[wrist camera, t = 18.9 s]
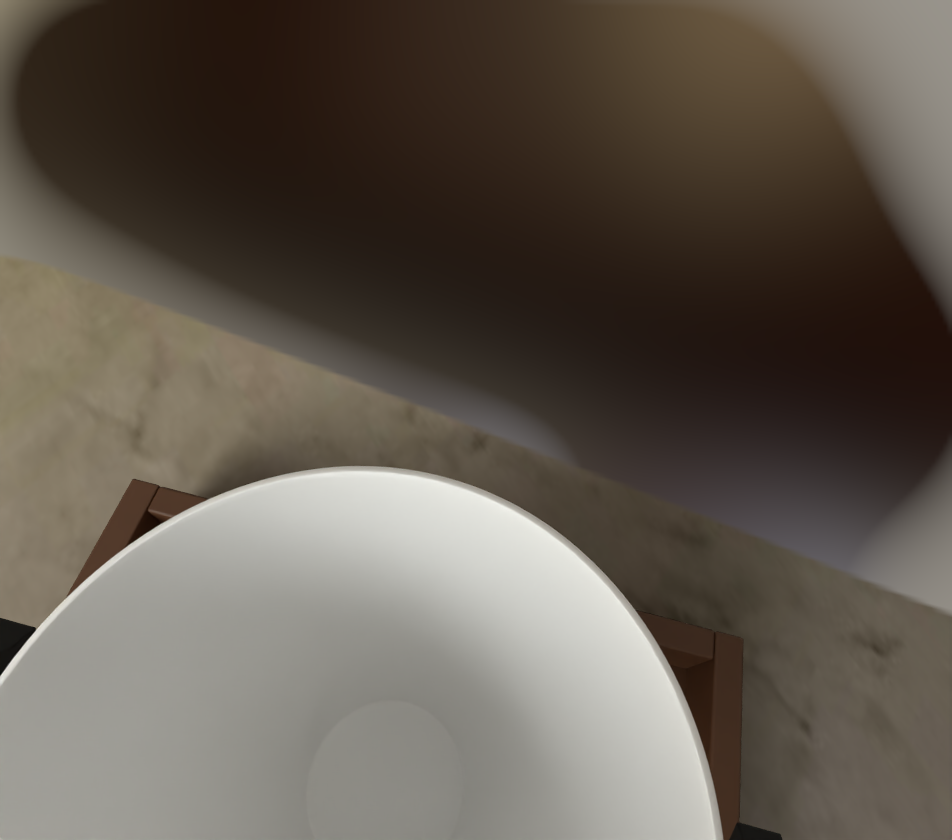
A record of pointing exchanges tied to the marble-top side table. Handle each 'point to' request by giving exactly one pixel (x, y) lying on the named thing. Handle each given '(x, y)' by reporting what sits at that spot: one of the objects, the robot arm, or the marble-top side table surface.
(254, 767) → the mug
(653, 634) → the tray
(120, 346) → the marble-top side table surface
